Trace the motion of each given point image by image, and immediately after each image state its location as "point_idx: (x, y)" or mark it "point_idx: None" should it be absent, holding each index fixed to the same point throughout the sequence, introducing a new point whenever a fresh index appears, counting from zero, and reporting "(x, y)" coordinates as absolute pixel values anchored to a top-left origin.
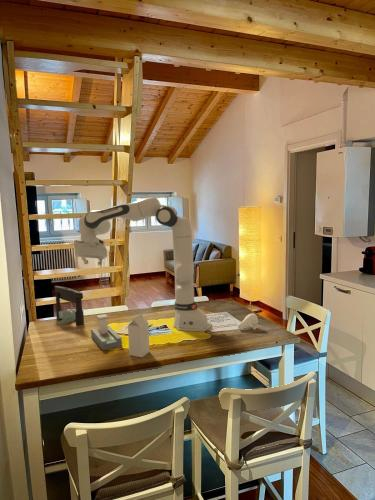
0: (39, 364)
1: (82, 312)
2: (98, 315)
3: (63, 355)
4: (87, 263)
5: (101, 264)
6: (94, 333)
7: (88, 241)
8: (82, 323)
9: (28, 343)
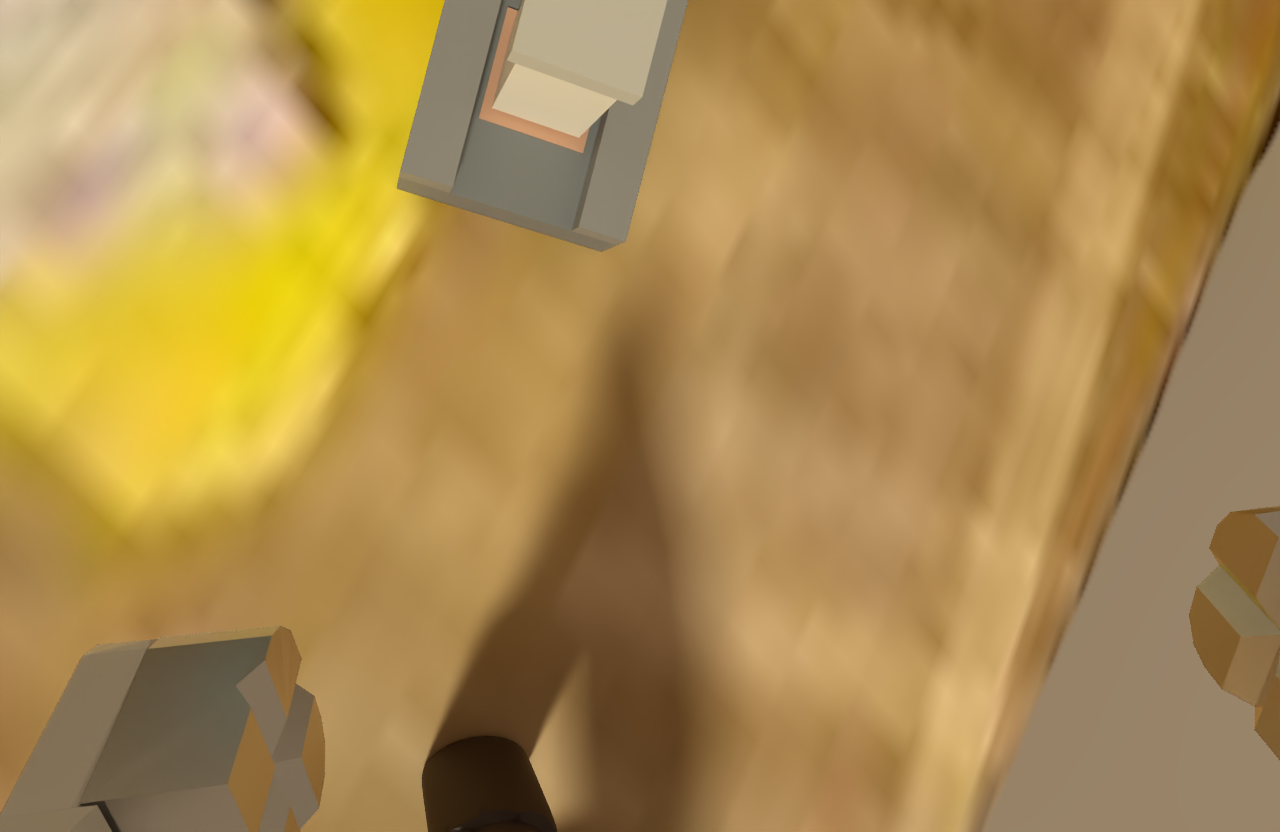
0: (1174, 35)
1: (460, 813)
2: (619, 79)
3: (992, 39)
4: (1261, 513)
5: (142, 650)
6: (664, 84)
7: None
8: (458, 743)
9: (1066, 561)
